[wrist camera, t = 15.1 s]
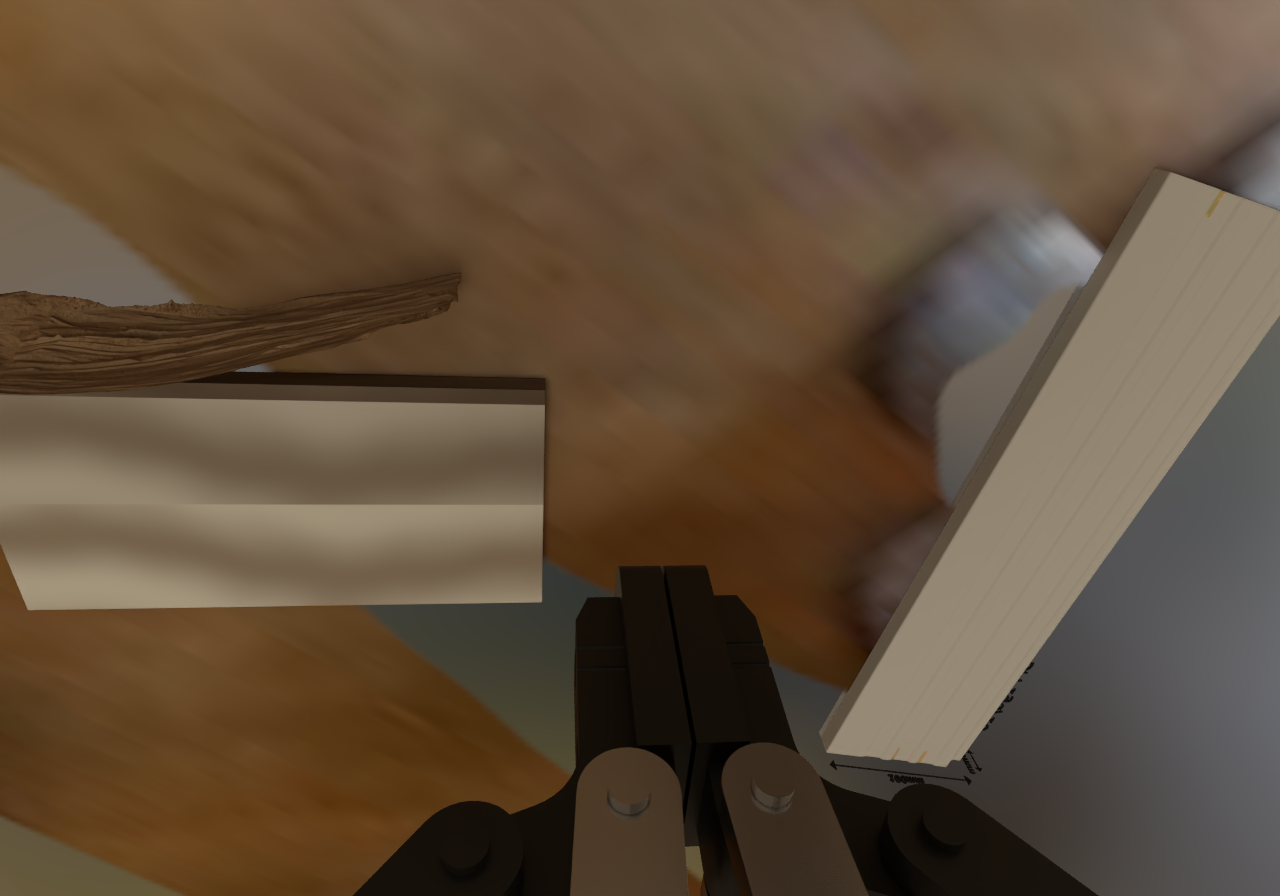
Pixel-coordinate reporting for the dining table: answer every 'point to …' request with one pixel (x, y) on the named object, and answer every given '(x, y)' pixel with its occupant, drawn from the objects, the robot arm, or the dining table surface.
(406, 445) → the floor panel
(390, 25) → the dining table surface
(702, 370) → the dining table surface
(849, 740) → the baseboard
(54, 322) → the driftwood piece
